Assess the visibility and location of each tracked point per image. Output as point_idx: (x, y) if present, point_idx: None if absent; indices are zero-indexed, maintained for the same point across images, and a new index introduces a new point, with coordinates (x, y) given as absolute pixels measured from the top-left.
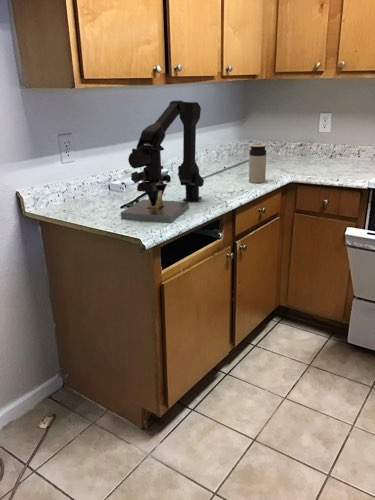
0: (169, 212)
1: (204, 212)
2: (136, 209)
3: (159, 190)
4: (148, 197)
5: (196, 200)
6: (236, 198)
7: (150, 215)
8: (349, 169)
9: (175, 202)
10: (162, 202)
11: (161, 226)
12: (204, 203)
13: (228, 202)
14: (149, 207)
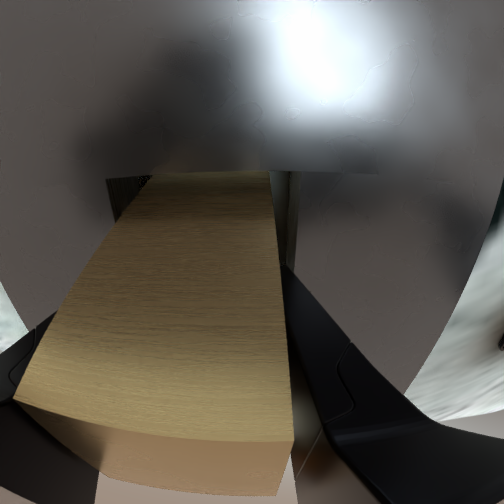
0: None
1: None
2: (34, 88)
3: (217, 491)
4: (63, 302)
5: (501, 348)
6: (485, 410)
7: (9, 291)
8: None
9: (405, 346)
10: (419, 251)
11: (23, 333)
12: (462, 376)
13: (448, 417)
14: (130, 211)
